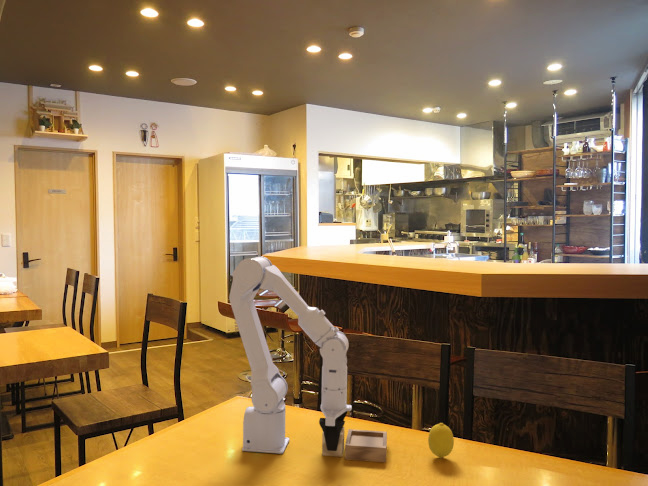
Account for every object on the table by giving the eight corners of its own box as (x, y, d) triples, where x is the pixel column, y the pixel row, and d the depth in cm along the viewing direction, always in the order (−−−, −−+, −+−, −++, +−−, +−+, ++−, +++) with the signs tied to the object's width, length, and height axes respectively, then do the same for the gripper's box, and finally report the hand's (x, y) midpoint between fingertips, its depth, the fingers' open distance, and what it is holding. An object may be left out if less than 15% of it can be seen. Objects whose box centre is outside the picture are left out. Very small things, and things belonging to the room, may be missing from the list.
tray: (344, 459, 115) (345, 445, 115) (348, 442, 124) (348, 429, 124) (386, 462, 114) (386, 447, 114) (386, 445, 123) (386, 431, 123)
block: (322, 455, 117) (322, 433, 117) (324, 446, 122) (325, 425, 122) (342, 456, 117) (342, 434, 116) (344, 448, 121) (344, 426, 121)
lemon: (453, 465, 113) (454, 428, 113) (427, 462, 114) (428, 426, 114) (452, 454, 119) (453, 419, 118) (427, 451, 120) (428, 417, 119)
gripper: (349, 397, 111) (348, 460, 111) (354, 378, 125) (353, 433, 126) (316, 396, 112) (315, 458, 112) (325, 376, 126) (324, 431, 127)
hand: (333, 445), depth 119 cm, fingers closed on block, 4 cm apart
